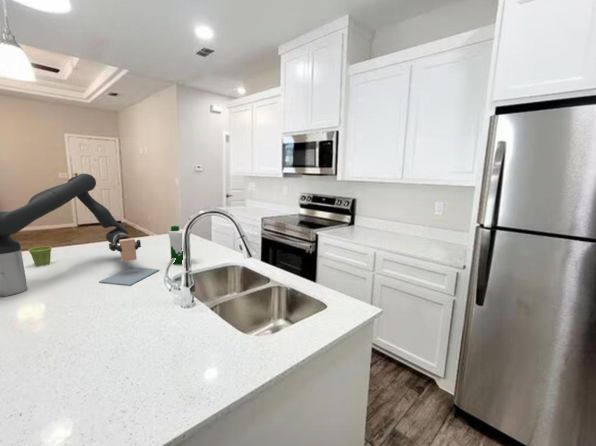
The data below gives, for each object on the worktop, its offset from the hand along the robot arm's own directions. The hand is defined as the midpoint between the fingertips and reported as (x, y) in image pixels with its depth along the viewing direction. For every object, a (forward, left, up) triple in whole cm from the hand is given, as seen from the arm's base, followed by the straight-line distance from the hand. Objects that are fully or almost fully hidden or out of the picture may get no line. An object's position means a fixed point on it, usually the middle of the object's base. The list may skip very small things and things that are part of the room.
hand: (128, 248), depth 141 cm
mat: (-2, -1, -13) cm, 13 cm away
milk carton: (+22, -12, -13) cm, 29 cm away
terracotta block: (+2, +2, -6) cm, 6 cm away
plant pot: (+2, +55, -13) cm, 56 cm away
